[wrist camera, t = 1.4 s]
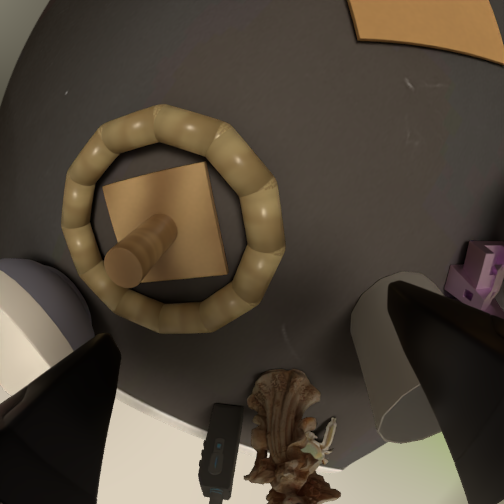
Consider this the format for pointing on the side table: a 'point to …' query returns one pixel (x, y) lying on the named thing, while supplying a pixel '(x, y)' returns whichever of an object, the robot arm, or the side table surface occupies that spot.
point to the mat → (431, 25)
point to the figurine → (286, 439)
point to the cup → (391, 366)
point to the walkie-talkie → (220, 452)
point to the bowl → (37, 321)
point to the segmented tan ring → (236, 175)
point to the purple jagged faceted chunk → (479, 276)
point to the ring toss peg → (164, 227)
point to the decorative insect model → (320, 448)
